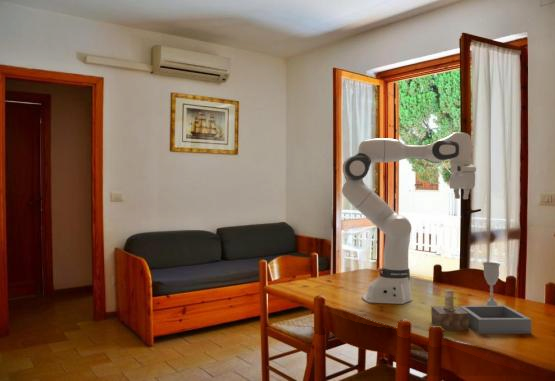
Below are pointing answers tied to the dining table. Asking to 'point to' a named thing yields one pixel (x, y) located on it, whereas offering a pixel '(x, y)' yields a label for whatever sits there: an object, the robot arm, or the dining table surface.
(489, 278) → the chalice
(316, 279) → the dining table surface
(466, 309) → the tray
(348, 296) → the dining table surface
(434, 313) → the dowel block
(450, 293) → the dowel
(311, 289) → the dining table surface
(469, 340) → the dining table surface
